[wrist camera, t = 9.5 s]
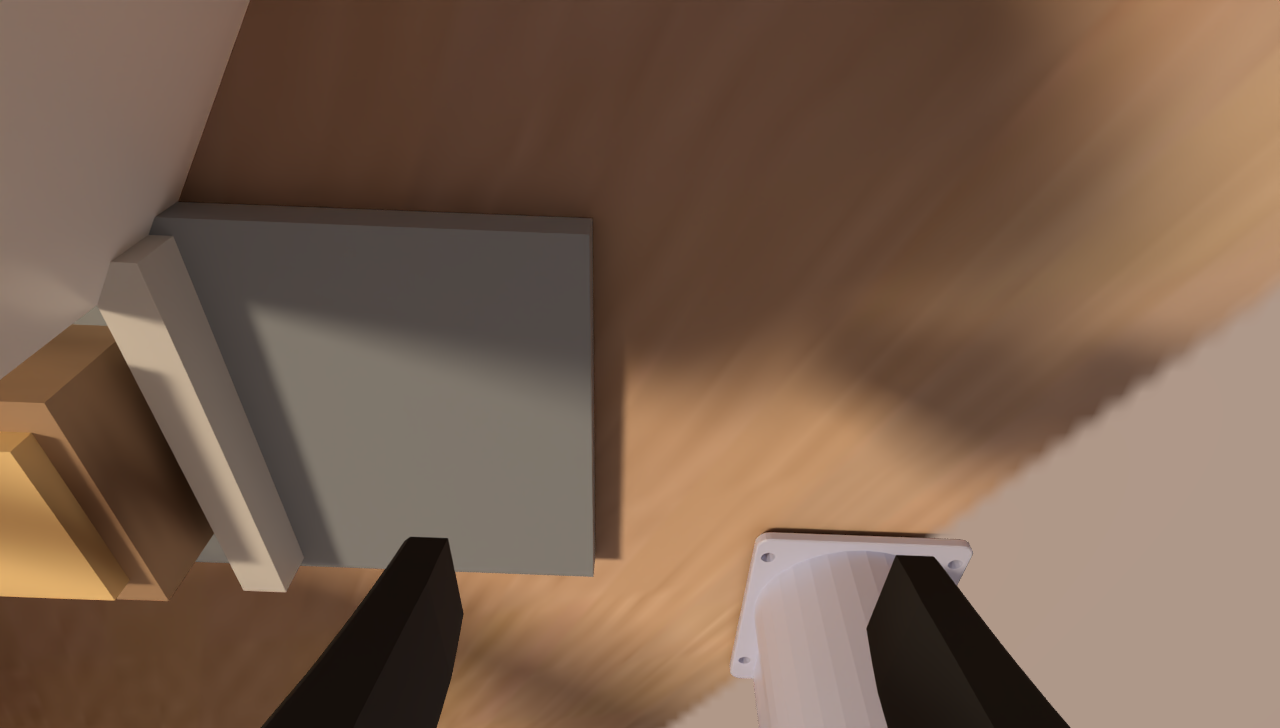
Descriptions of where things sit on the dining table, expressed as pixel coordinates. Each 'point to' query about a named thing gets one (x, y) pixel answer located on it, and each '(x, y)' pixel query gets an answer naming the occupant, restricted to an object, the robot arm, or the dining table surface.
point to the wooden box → (89, 480)
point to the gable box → (94, 143)
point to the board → (368, 382)
